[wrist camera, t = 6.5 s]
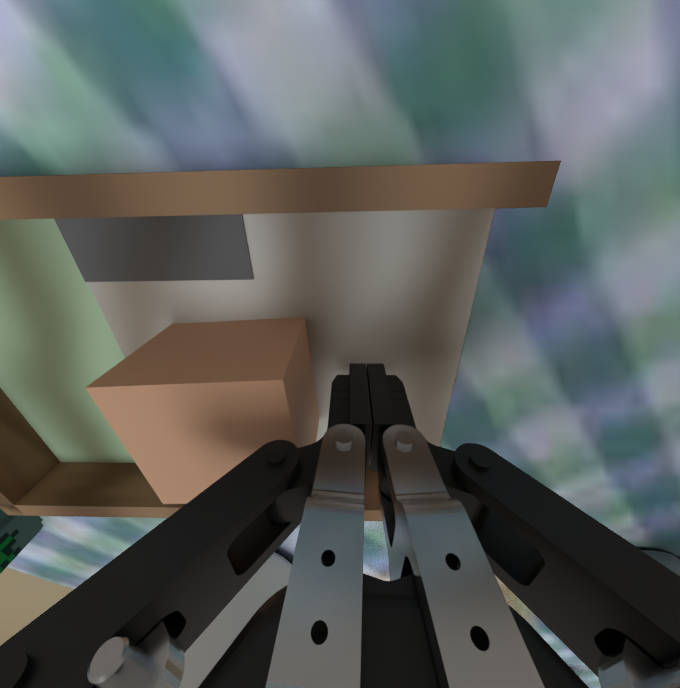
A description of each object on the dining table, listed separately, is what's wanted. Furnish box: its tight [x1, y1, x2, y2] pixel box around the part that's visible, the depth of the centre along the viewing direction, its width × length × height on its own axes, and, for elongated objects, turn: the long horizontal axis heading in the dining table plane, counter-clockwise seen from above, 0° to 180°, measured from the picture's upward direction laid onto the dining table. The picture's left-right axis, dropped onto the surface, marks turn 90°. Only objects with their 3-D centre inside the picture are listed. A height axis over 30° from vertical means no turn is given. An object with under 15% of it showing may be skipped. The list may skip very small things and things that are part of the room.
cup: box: [179, 552, 292, 688], centre depth 20 cm, size 10×10×10 cm
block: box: [85, 317, 319, 504], centre depth 11 cm, size 6×6×4 cm
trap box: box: [0, 161, 561, 521], centre depth 12 cm, size 24×16×3 cm, turn 91°
